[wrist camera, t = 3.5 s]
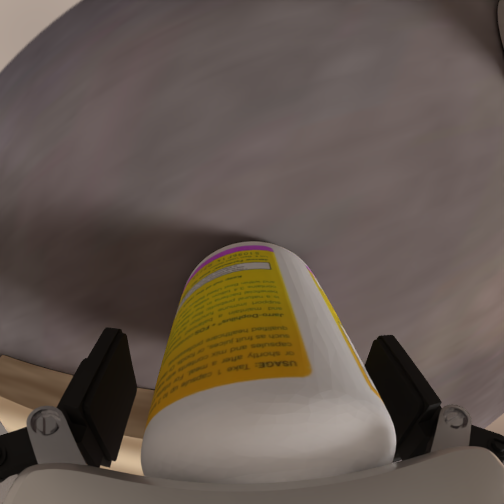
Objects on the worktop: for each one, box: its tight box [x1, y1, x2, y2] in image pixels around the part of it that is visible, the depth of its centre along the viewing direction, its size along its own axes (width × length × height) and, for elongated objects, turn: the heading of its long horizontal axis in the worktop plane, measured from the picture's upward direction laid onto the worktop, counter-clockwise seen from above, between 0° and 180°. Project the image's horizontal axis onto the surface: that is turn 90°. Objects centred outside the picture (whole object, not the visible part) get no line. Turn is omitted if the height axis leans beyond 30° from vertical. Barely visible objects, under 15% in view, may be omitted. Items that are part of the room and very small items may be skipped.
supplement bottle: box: [141, 241, 396, 484], centre depth 9 cm, size 7×7×13 cm
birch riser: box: [0, 355, 155, 476], centre depth 17 cm, size 14×14×4 cm
